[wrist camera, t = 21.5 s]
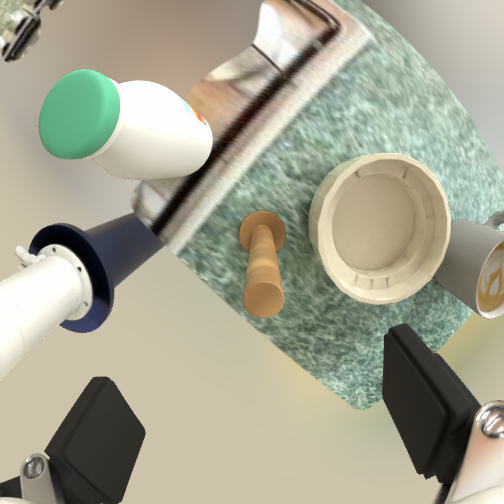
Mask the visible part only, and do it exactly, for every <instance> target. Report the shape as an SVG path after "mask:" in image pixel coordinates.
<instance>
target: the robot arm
mask: <svg viewBox="0 0 504 504" xmlns="http://www.w3.org/2000/svg"><path fill="white" fill-rule="evenodd" d="M15 255H16V256H17V257H18V258H19V259H20V260H21V261H23V262H24V263H25V265H24V264H20V265H19V267H18V270H19V272H17V273H15V274H13V275H11V276H9V277H8V278H6V279H4V280H2V281H1V282H0V382H1V380H2V379H3V378H4V377H5V376H6V375H7V373H8V372H9V371H10V370H11V369H12V368H13V367H14V366H15V365H16V364H17V363H18V362H19V361H20V360H21V359H23V358H24V357H25V356H26V355H27V354H28V353H29V352H30V351H31V350H32V349H33V348H34V347H35V346H36V345H37V344H38V343H40V342H41V341H42V340H43V339H44V338H45V337H46V336H47V335H48V334H49V333H50V332H52V330H54V329H55V328H56V327H57V326H58V325H60V324H61V323H62V322H63V321H64V320H65V319H67V320H78V319H81V318H82V317H84V316H85V315H86V314H87V313H88V312H89V310H90V309H91V307H92V304H93V299H94V288H93V282H92V279H91V276H90V273H89V271H88V269H87V267H86V265H85V264H84V262H83V260H82V259H81V258H80V257H79V256H78V254H77V253H75V252H74V251H73V250H72V249H70V248H69V247H67V246H65V245H62V244H51V245H48V246H46V247H44V248H43V249H42V250H41V251H40V252H39V253H38V255H37V256H35V255H34V254H29V253H28V251H27V250H26V249H25V248H24V247H22V246H21V245H20V246H18V247H17V248H16V250H15ZM382 396H383V400H384V402H385V404H386V406H387V408H388V410H389V413H390V415H391V417H392V419H393V421H394V423H395V425H396V427H397V429H398V432H399V434H400V436H401V438H402V440H403V442H404V444H405V447H406V449H407V451H408V454H409V455H410V458H411V460H412V463H413V465H414V467H415V469H416V471H417V473H418V474H419V475H420V474H423V475H424V477H425V479H429V478H431V477H433V476H435V475H436V477H437V479H438V482H439V483H441V484H440V486H439V489H438V491H437V494H436V496H435V498H434V501H433V503H432V504H504V401H501V400H496V401H491V402H488V403H486V404H485V405H483V406H481V405H480V404H479V402H478V401H477V400H476V398H475V397H474V396H473V395H472V393H471V392H470V391H469V390H468V389H467V387H466V386H465V385H464V383H463V382H462V381H461V380H460V378H459V377H458V376H457V375H456V374H455V372H454V371H453V370H452V369H451V368H450V366H449V365H448V364H447V363H446V362H445V361H444V359H443V358H442V357H441V356H440V355H439V354H437V353H432V351H431V350H430V349H429V348H428V347H427V346H426V344H425V343H424V342H423V341H422V340H421V339H420V337H419V336H418V335H417V334H416V333H415V332H414V331H413V329H412V328H411V327H410V326H409V325H408V324H407V323H403V324H400V325H397V326H394V327H391V328H389V331H388V333H387V334H385V335H384V362H383V385H382ZM144 438H145V429H144V427H143V425H142V424H141V423H140V421H139V420H138V418H137V417H136V415H135V414H134V413H133V411H132V410H131V408H130V407H129V405H128V404H127V402H126V400H125V399H124V397H123V396H122V394H121V393H120V391H119V389H118V388H117V386H116V385H115V383H114V382H113V381H111V379H110V378H108V377H93V378H92V379H91V380H90V382H89V384H88V385H87V386H86V388H85V389H84V391H83V392H82V394H81V395H80V396H79V398H78V399H77V401H76V402H75V404H74V405H73V407H72V408H71V410H70V411H69V413H68V414H67V416H66V417H65V419H64V420H63V422H62V424H61V425H60V427H59V428H58V430H57V431H56V433H55V434H54V436H53V438H52V439H51V441H50V443H49V444H48V446H47V447H46V449H45V450H44V452H45V453H46V454H47V455H48V456H49V457H50V459H49V460H48V459H47V458H46V457H45V456H44V455H42V454H37V453H36V454H32V455H30V456H28V457H27V458H26V459H25V460H24V461H23V463H22V465H21V467H20V476H18V477H15V478H13V479H10V480H8V481H5V482H2V483H0V504H101V503H102V504H118V503H120V502H121V501H122V499H123V496H124V493H125V491H126V487H127V485H128V482H129V479H130V476H131V473H132V471H133V468H134V465H135V462H136V459H137V457H138V454H139V451H140V448H141V446H142V443H143V440H144Z"/></svg>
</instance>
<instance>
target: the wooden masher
mask: <svg viewBox="0 0 504 504" xmlns="http://www.w3.org/2000/svg"><path fill="white" fill-rule="evenodd" d="M285 238H286V231H285V227H284V225H283V223H282V221H281V219H280V218H279V217H278V216H277V215H275V214H274V213H272V212H269V211H264V210H261V211H255V212H253V213H251V214H249V215H248V216H247V217H246V218H245V219H244V220H243V222H242V224H241V226H240V230H239V239H240V243H241V245H242V247H243V248H244V249H245V250H246V251H247V252H248V253H249V259H248V266H247V273H246V280H245V287H244V294H243V304H244V307H245V309H246V310H247V311H248V312H249V313H250V314H251V315H253V316H255V317H258V318H269V317H272V316H274V315H276V314H277V313H278V312H279V311H280V310H281V309H282V307H283V304H284V294H283V288H282V282H281V277H280V271H279V265H278V260H277V254H276V253H277V252H278V251H279V250H280V249H281V248H282V246H283V244H284V242H285Z"/></svg>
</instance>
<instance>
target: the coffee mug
mask: <svg viewBox="0 0 504 504" xmlns="http://www.w3.org/2000/svg"><path fill="white" fill-rule="evenodd" d="M502 223H504V211H499V212H496V213H495V214H493V215H492V216H491V217H490V218H489V219H488V221H487V222H486V223H485V224H483V225H480V224H477V223H474V222H471V221H468V220H464V219H460V220H455V221H453V222H451V229H450V240H449V244H448V247H447V250H446V253H445V256H444V259H443V261H442V263H441V265H440V266H439V268H438V269H437V271H436V273H435V274H434V277H435V279H436V281H437V282H438V283H439V284H440V285H441V286H442V287H444V288H445V289H446V290H448V291H449V292H450V293H452V294H453V295H454V296H456V297H457V298H458V299H460V300H461V301H462V302H463V303H465V304H466V305H467V306H469V307H470V308H471V309H472V310H474V311H475V312H476V313H477V314H479V315H480V316H482V317H483V318H485V319H494V318H497V317H499V316H500V315H502V314H503V313H504V231H498V230H496V229H497V227H498V226H499V225H500V224H502Z"/></svg>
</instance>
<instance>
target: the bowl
mask: <svg viewBox="0 0 504 504" xmlns="http://www.w3.org/2000/svg"><path fill="white" fill-rule="evenodd" d="M308 219H309V238H310V241H311V244H312V246H313V249H314V252H315V255H316V257H317V259H318V260H319V262H320V264H321V265H322V267H323V268H324V270H325V272H326V273H327V274H328V276H329V277H330V278H331V280H332V281H333V282H334V283H335V285H336V286H337V287H338V289H339V290H340V291H342V292H344V293H345V294H347V295H348V296H350V297H352V298H353V299H355V300H356V301H360V302H364V303H369V304H374V305H382V304H389V303H396V302H399V301H401V300H403V299H405V298H407V297H409V296H411V295H413V294H415V293H416V292H418V291H419V290H420V289H421V288H422V287H423V286H424V285H425V284H426V283H428V282H429V281H430V280H431V279H432V277H433V276H434V274H435V273H436V271H437V269H438V268H439V266H440V265H441V263H442V261H443V259H444V256H445V253H446V250H447V247H448V244H449V240H450V229H451V215H450V210H449V205H448V200H447V197H446V194H445V192H444V191H443V189H442V187H441V185H440V183H439V181H438V179H437V178H436V176H435V175H434V174H433V173H432V172H430V171H429V170H428V169H427V168H426V167H425V166H424V165H423V164H422V163H421V162H419V161H417V160H415V159H412V158H410V157H408V156H406V155H403V154H396V153H375V154H368V155H361V156H358V157H355V158H352V159H349V160H346V161H344V162H342V163H341V164H339V165H338V166H337V167H336V168H334V169H333V170H332V171H331V172H329V173H328V174H327V175H326V176H325V178H324V179H323V181H322V182H321V184H320V186H319V187H318V189H317V190H316V192H315V194H314V196H313V200H312V204H311V207H310V211H309V216H308Z"/></svg>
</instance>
